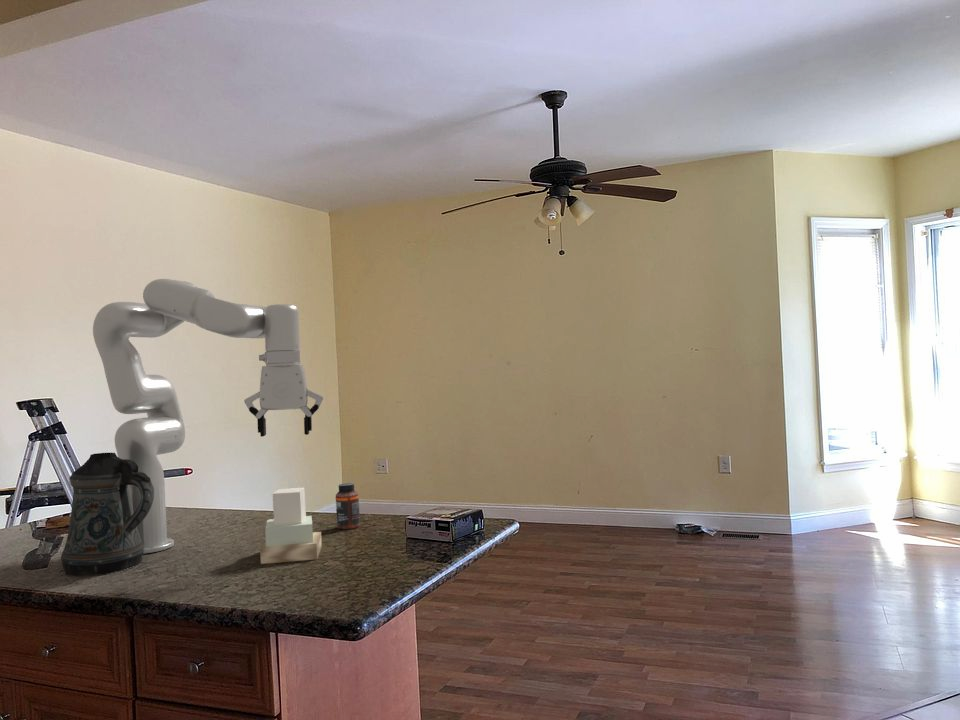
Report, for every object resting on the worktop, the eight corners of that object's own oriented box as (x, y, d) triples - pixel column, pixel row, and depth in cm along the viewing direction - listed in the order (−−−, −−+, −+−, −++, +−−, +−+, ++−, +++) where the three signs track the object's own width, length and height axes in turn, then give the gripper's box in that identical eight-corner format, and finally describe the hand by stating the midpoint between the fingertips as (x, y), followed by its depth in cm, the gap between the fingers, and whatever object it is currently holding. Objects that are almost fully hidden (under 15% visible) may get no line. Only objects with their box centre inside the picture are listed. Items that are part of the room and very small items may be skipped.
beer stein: (68, 562, 169) (63, 453, 169) (160, 551, 176) (155, 446, 176) (54, 581, 154) (49, 461, 154) (156, 567, 160) (151, 452, 161)
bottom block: (260, 566, 160) (260, 547, 160) (269, 552, 172) (268, 535, 172) (317, 561, 161) (316, 543, 161) (321, 548, 173) (321, 531, 173)
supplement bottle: (362, 524, 195) (360, 481, 195) (356, 529, 189) (354, 485, 189) (340, 525, 196) (338, 482, 196) (334, 530, 190) (332, 486, 190)
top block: (266, 546, 160) (265, 528, 160) (268, 537, 170) (267, 519, 170) (313, 542, 163) (312, 524, 163) (312, 532, 173) (311, 515, 173)
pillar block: (274, 525, 164) (272, 493, 164) (279, 519, 170) (277, 489, 170) (301, 523, 164) (299, 492, 164) (305, 517, 170) (304, 487, 170)
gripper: (240, 360, 162) (242, 438, 162) (320, 358, 164) (322, 435, 164) (246, 360, 170) (249, 435, 170) (323, 358, 172) (325, 432, 172)
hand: (285, 435), depth 167 cm, fingers open, 9 cm apart
